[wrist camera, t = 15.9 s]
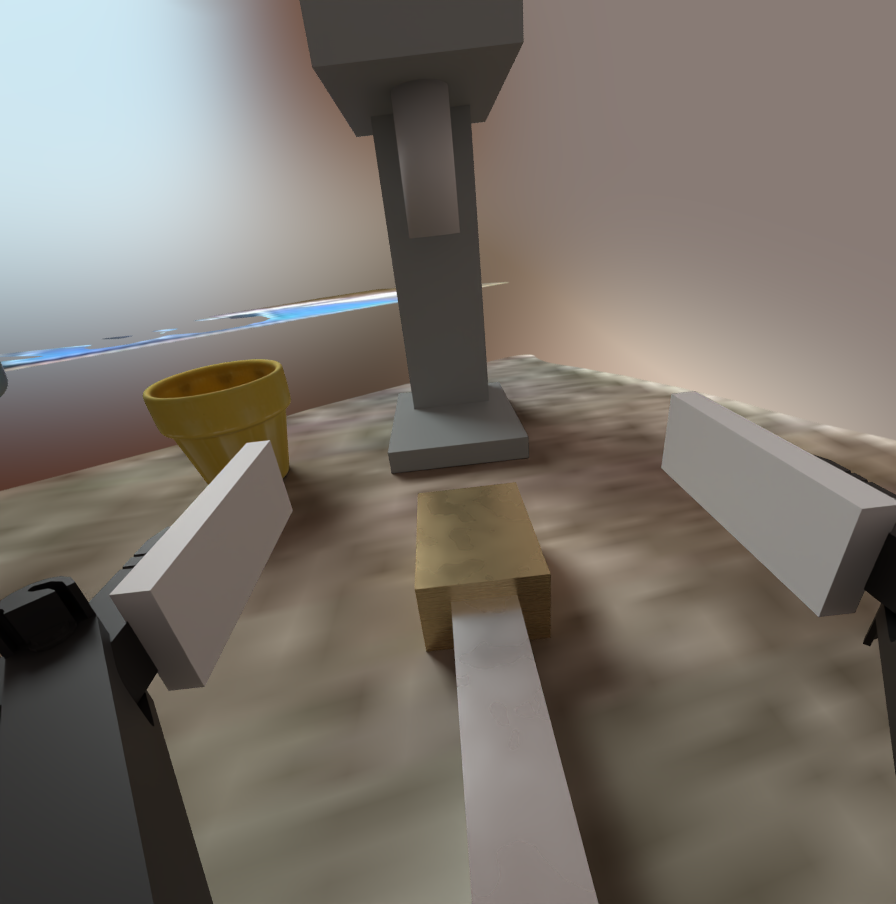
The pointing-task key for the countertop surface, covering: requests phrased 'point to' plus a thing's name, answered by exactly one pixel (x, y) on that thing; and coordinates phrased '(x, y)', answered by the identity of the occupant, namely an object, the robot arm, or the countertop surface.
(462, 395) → the press stand
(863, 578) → the robot arm
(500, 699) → the metal block
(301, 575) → the countertop surface
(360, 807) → the countertop surface
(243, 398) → the plant pot
